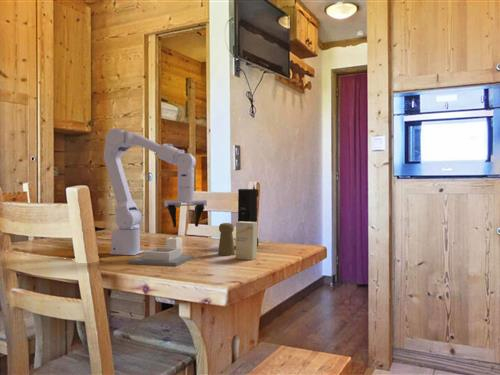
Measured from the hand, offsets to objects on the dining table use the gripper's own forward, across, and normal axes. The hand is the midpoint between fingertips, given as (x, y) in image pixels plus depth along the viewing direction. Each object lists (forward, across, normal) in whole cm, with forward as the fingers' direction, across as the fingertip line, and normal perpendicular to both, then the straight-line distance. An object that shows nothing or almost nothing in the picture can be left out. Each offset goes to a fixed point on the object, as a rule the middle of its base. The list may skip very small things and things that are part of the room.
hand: (185, 226), depth 150 cm
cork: (+10, +14, -4) cm, 17 cm away
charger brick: (+10, -3, +5) cm, 11 cm away
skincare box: (+10, +18, -14) cm, 25 cm away
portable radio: (+10, +26, +10) cm, 30 cm away
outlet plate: (+10, -9, -9) cm, 16 cm away
